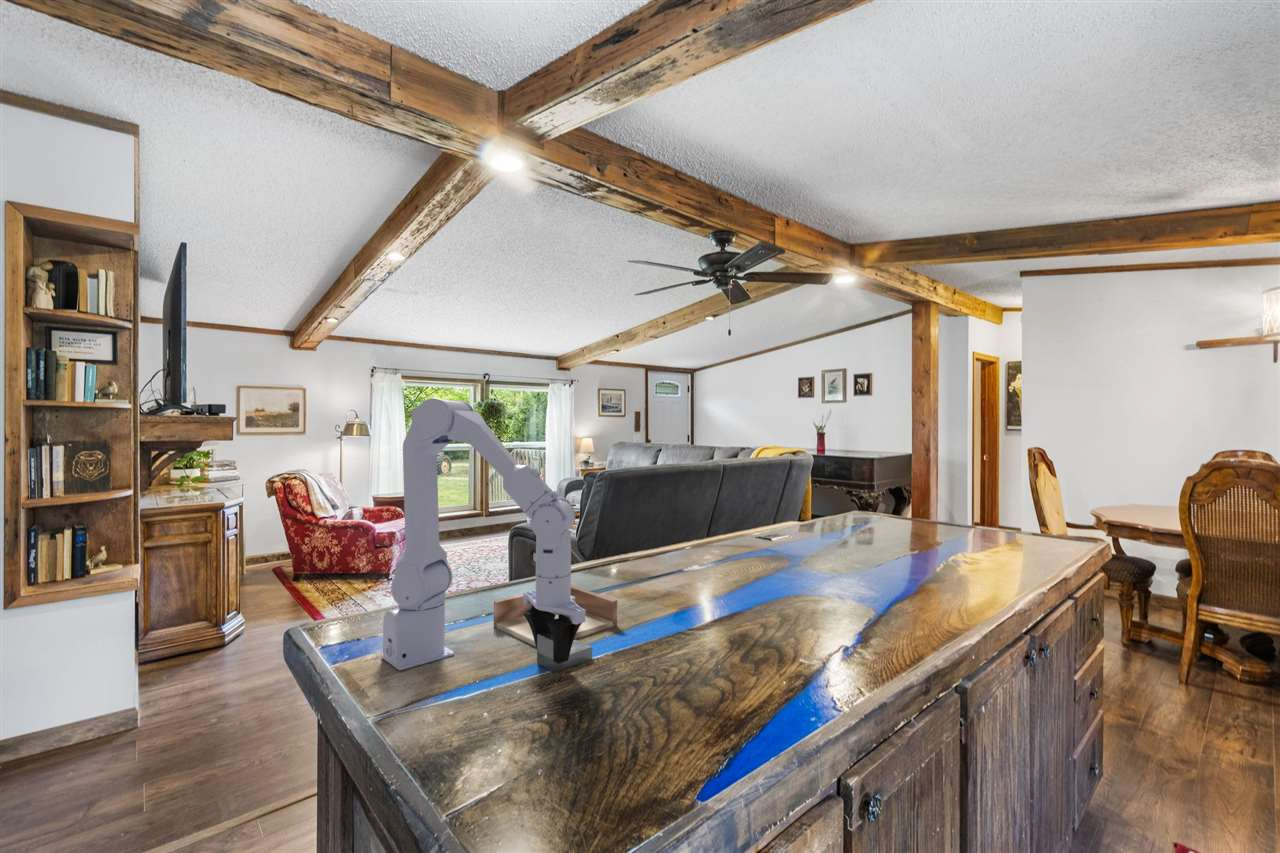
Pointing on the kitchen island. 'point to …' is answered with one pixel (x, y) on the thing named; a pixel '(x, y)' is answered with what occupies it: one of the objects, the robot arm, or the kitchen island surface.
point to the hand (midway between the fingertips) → (552, 656)
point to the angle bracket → (546, 653)
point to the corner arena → (596, 618)
